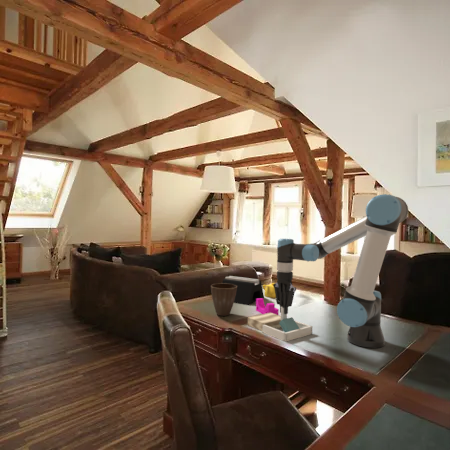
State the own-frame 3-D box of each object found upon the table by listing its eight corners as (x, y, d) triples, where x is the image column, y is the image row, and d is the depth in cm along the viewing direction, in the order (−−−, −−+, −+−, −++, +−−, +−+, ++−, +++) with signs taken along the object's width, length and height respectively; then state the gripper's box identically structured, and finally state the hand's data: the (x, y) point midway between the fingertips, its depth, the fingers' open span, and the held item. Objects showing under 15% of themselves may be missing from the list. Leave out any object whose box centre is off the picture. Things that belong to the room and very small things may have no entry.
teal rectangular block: (297, 333, 153) (300, 330, 152) (287, 336, 149) (290, 332, 147) (288, 320, 157) (292, 317, 156) (278, 323, 153) (282, 319, 151)
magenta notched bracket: (278, 317, 180) (278, 303, 180) (268, 318, 178) (268, 304, 178) (265, 310, 194) (265, 297, 194) (255, 311, 192) (256, 298, 192)
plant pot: (231, 309, 193) (231, 282, 193) (240, 316, 179) (241, 287, 179) (207, 311, 188) (207, 283, 188) (214, 318, 174) (215, 288, 174)
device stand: (248, 306, 202) (248, 282, 202) (218, 301, 214) (218, 278, 214) (264, 299, 221) (264, 277, 221) (235, 295, 233) (236, 274, 233)
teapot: (285, 300, 220) (285, 285, 220) (266, 300, 218) (267, 285, 218) (278, 295, 233) (279, 281, 233) (261, 296, 231) (261, 281, 231)
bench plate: (287, 325, 164) (287, 318, 164) (264, 331, 155) (264, 323, 155) (270, 320, 174) (270, 312, 174) (247, 325, 164) (247, 317, 164)
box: (312, 333, 153) (312, 326, 153) (285, 341, 142) (285, 333, 142) (288, 325, 165) (288, 318, 165) (262, 332, 154) (262, 325, 154)
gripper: (300, 272, 152) (299, 322, 153) (280, 268, 163) (279, 315, 163) (289, 273, 148) (288, 325, 148) (269, 269, 158) (268, 318, 158)
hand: (283, 320), depth 155 cm, fingers closed
